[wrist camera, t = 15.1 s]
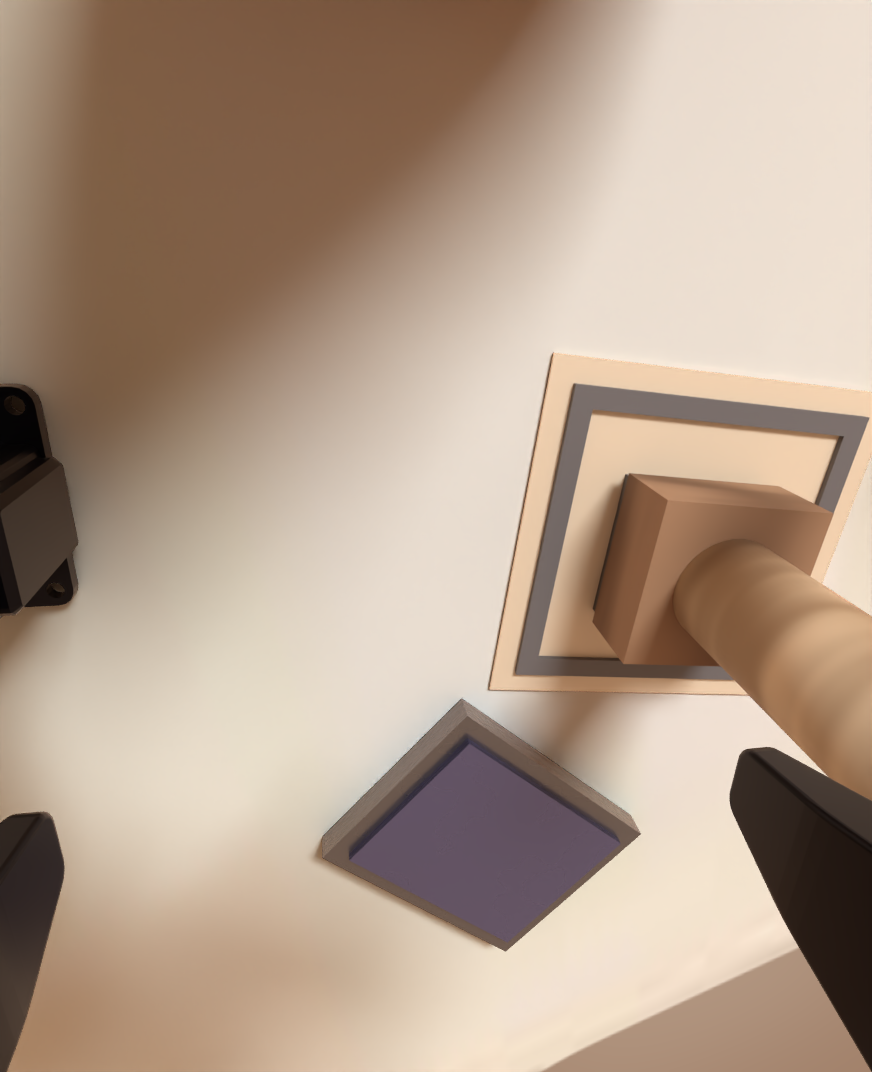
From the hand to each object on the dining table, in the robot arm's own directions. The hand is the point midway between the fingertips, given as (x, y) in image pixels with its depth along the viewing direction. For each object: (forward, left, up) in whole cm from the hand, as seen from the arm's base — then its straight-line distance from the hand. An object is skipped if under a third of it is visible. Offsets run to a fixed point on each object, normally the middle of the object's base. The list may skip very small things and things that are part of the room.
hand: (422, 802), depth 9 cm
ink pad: (+4, -14, -13) cm, 20 cm away
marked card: (+11, -2, -13) cm, 17 cm away
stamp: (+11, -2, -13) cm, 17 cm away
